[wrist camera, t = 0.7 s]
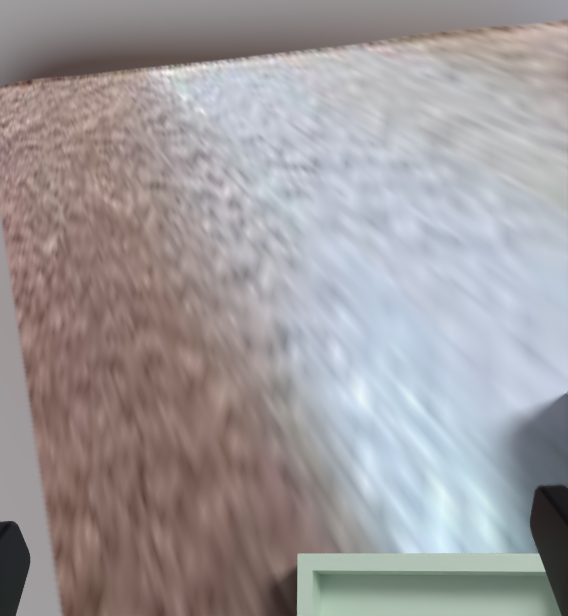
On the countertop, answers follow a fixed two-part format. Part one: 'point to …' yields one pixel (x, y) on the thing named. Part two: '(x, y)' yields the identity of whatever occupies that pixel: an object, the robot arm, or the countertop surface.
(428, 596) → the tray
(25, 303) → the countertop surface
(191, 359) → the countertop surface
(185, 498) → the countertop surface
